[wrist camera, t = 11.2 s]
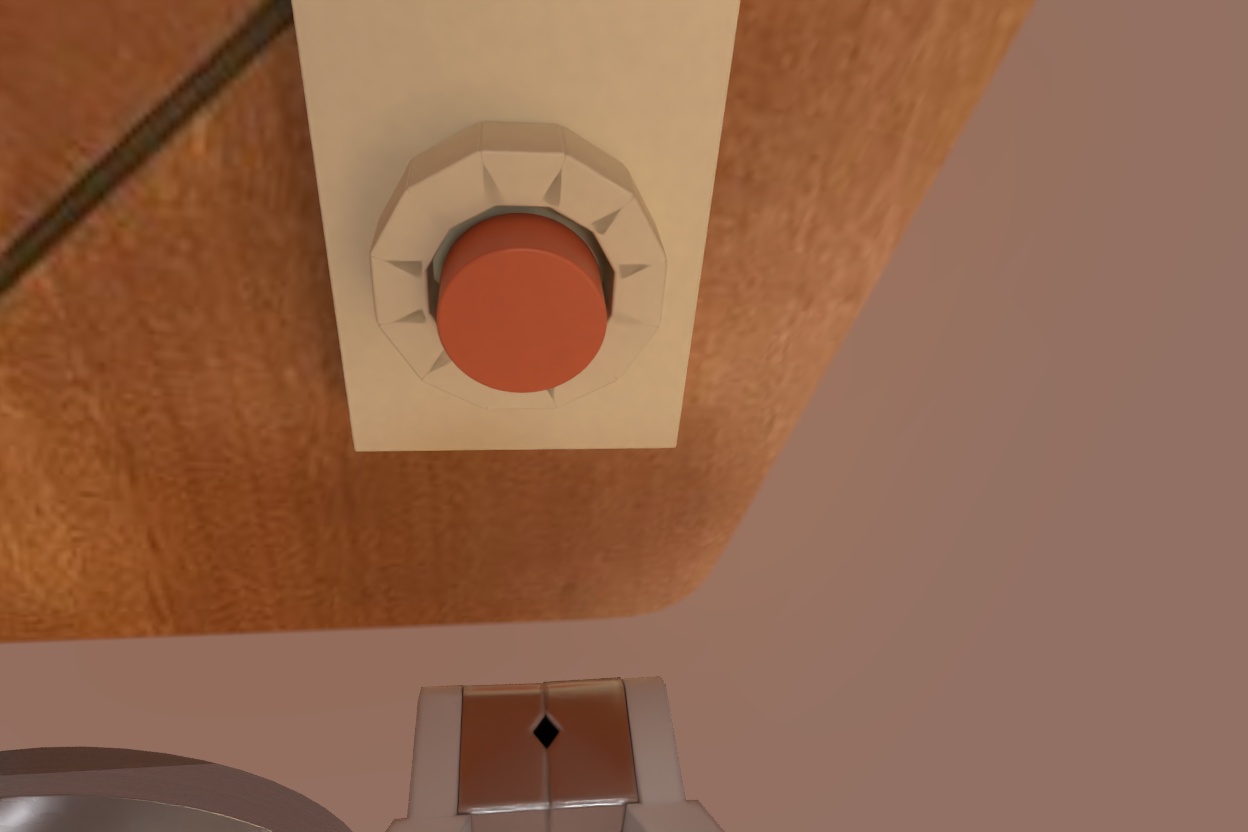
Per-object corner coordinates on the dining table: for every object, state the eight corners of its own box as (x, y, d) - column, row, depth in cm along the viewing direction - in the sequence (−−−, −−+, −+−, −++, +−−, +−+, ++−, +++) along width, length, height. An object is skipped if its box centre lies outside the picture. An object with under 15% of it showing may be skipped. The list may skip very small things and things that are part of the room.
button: (595, 352, 21) (602, 393, 20) (444, 351, 21) (440, 394, 19) (605, 213, 19) (613, 249, 18) (436, 208, 18) (431, 246, 17)
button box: (664, 403, 27) (686, 490, 24) (363, 405, 26) (344, 496, 22) (720, -25, 20) (762, 17, 17) (306, -51, 18) (265, -11, 15)
